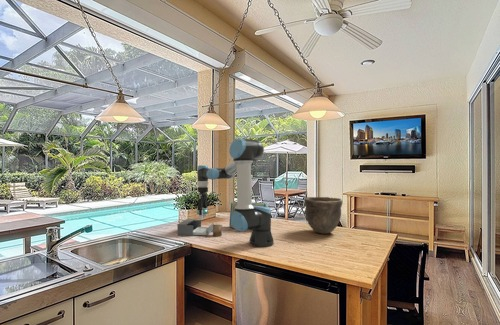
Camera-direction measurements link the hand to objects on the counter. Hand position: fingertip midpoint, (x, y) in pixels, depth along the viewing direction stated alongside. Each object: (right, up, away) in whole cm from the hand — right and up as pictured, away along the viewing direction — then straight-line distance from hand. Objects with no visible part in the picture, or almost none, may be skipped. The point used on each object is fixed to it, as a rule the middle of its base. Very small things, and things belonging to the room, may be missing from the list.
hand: (202, 218), depth 197 cm
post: (+12, -10, -8) cm, 17 cm away
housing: (-8, -10, +1) cm, 13 cm away
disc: (0, +4, 0) cm, 4 cm away
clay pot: (+87, -11, 0) cm, 88 cm away
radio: (+33, -11, +13) cm, 37 cm away
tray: (0, -10, 0) cm, 10 cm away
